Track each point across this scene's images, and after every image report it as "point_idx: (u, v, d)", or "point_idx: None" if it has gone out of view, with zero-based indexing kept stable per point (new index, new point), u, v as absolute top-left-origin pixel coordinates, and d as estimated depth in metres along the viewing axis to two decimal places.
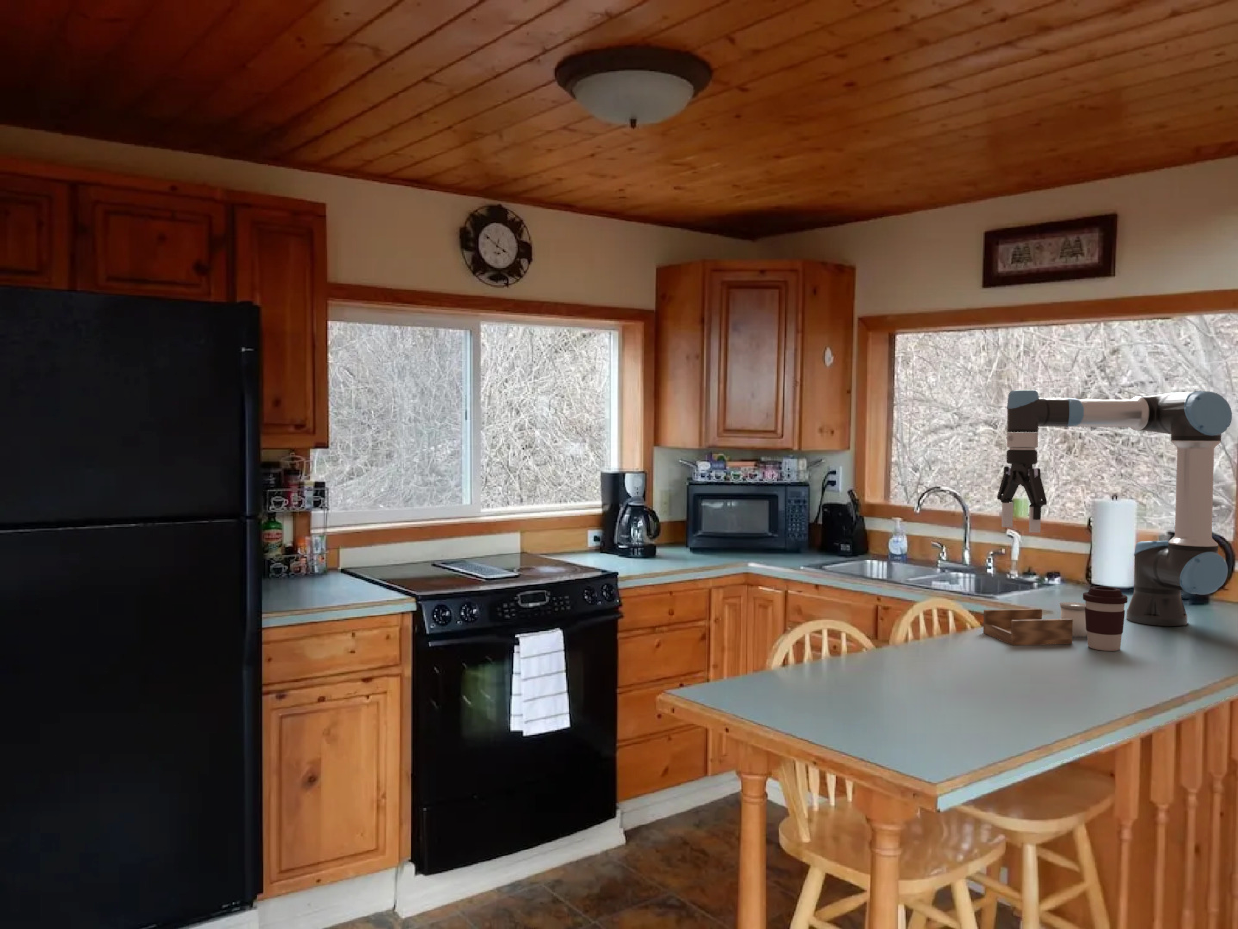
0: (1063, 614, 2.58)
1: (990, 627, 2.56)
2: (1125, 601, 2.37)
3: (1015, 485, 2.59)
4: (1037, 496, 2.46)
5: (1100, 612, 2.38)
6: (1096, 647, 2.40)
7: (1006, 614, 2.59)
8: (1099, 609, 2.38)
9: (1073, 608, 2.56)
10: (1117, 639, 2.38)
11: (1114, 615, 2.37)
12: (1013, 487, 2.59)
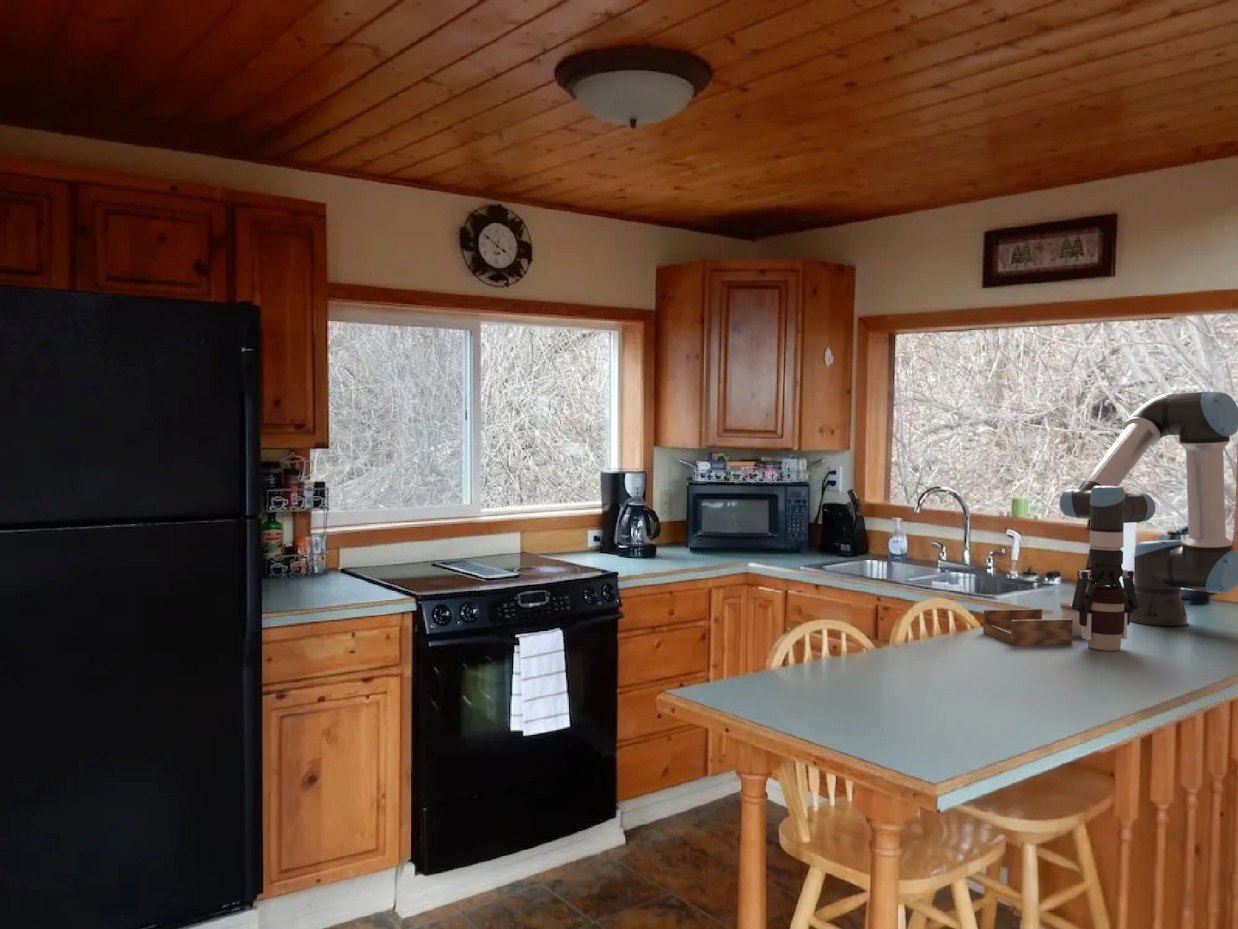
0: (1063, 614, 2.58)
1: (990, 627, 2.56)
2: (1125, 601, 2.37)
3: None
4: (1073, 600, 2.41)
5: (1100, 612, 2.38)
6: (1096, 647, 2.40)
7: (1006, 614, 2.59)
8: (1099, 609, 2.38)
9: None
10: (1117, 639, 2.38)
11: (1114, 615, 2.37)
12: None
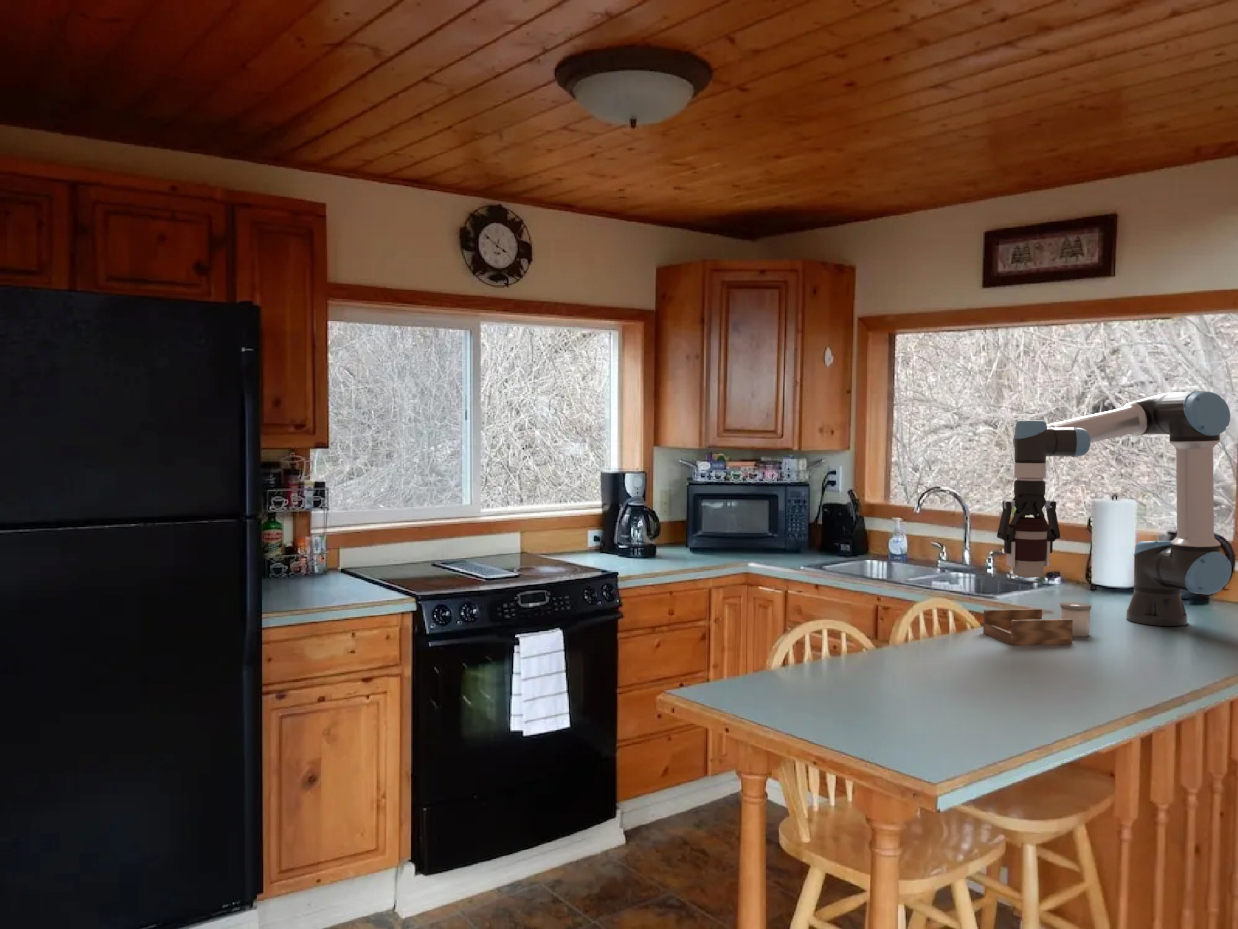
0: (1063, 614, 2.58)
1: (990, 627, 2.56)
2: (1047, 529, 2.48)
3: None
4: (998, 530, 2.52)
5: (1023, 540, 2.49)
6: (1020, 574, 2.50)
7: (1006, 614, 2.59)
8: (1023, 537, 2.49)
9: (1073, 608, 2.56)
10: (1039, 566, 2.49)
11: (1036, 542, 2.48)
12: None
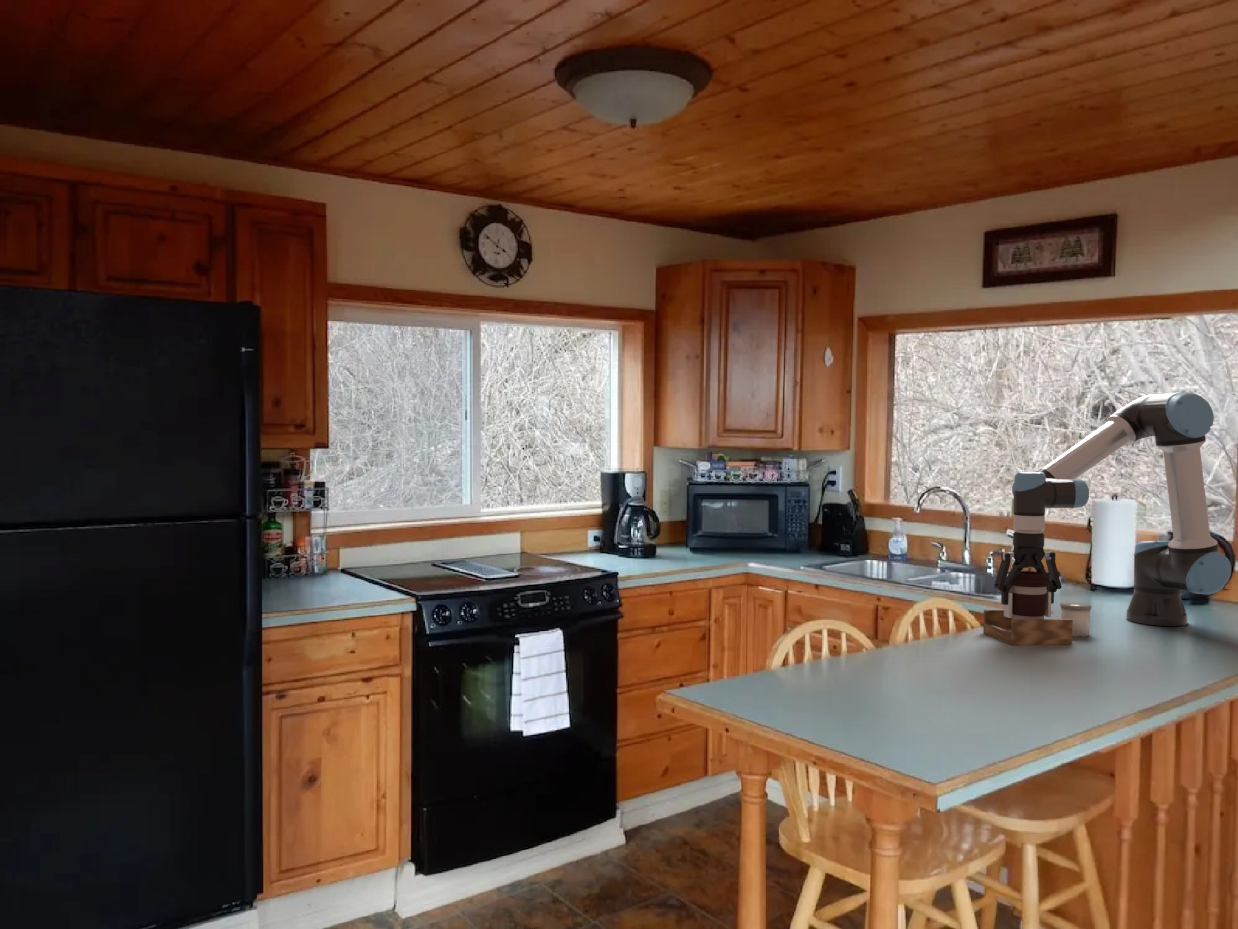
0: (1063, 614, 2.58)
1: (990, 627, 2.56)
2: (1046, 584, 2.49)
3: (1038, 570, 2.52)
4: (996, 580, 2.52)
5: (1023, 595, 2.49)
6: None
7: None
8: (1022, 592, 2.49)
9: (1073, 608, 2.56)
10: None
11: (1036, 598, 2.48)
12: None
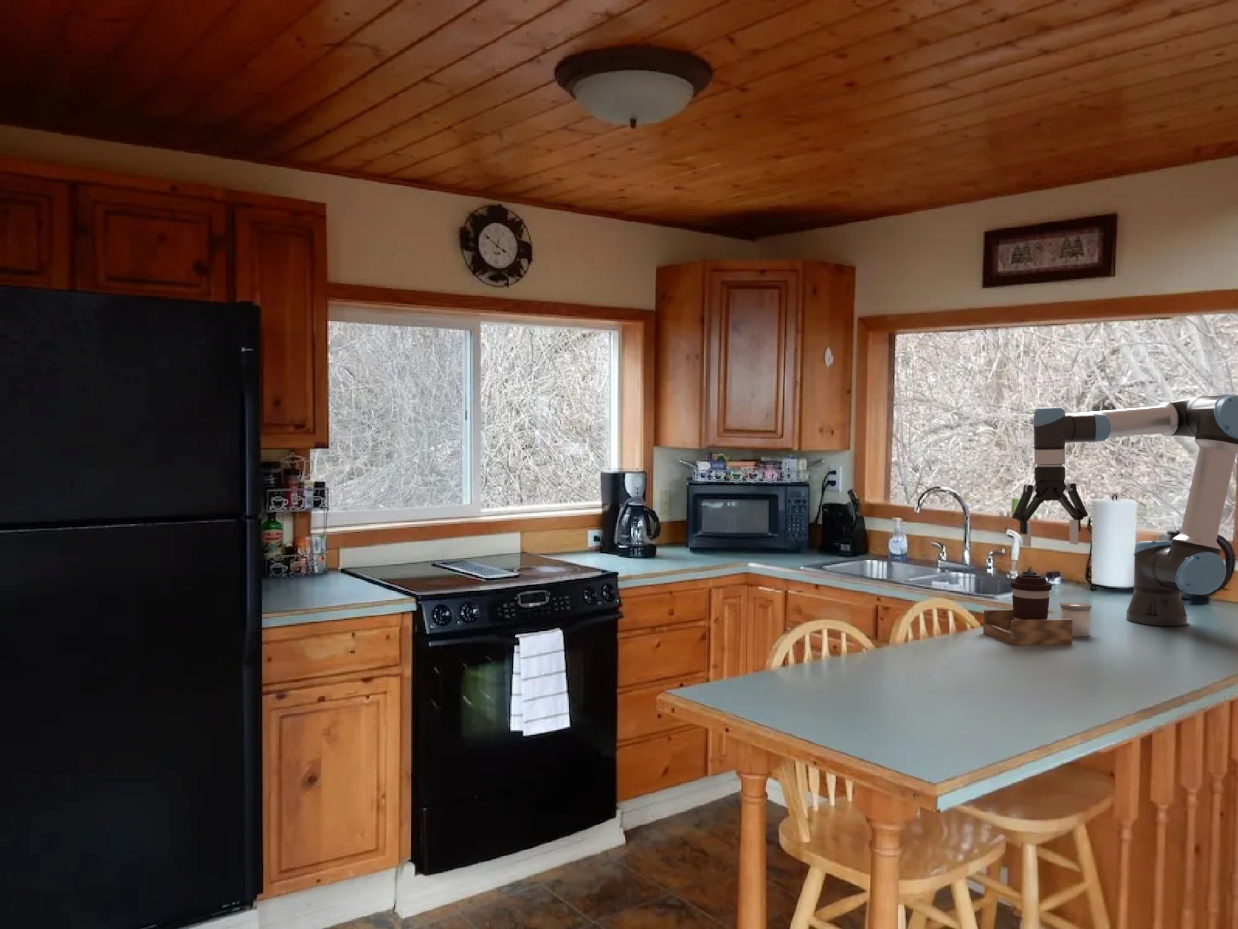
0: (1063, 614, 2.58)
1: (990, 627, 2.56)
2: (1049, 588, 2.48)
3: (1062, 501, 2.58)
4: (1015, 511, 2.58)
5: (1025, 599, 2.49)
6: None
7: (1006, 614, 2.59)
8: (1025, 596, 2.49)
9: (1073, 608, 2.56)
10: None
11: (1038, 602, 2.48)
12: (1063, 503, 2.59)
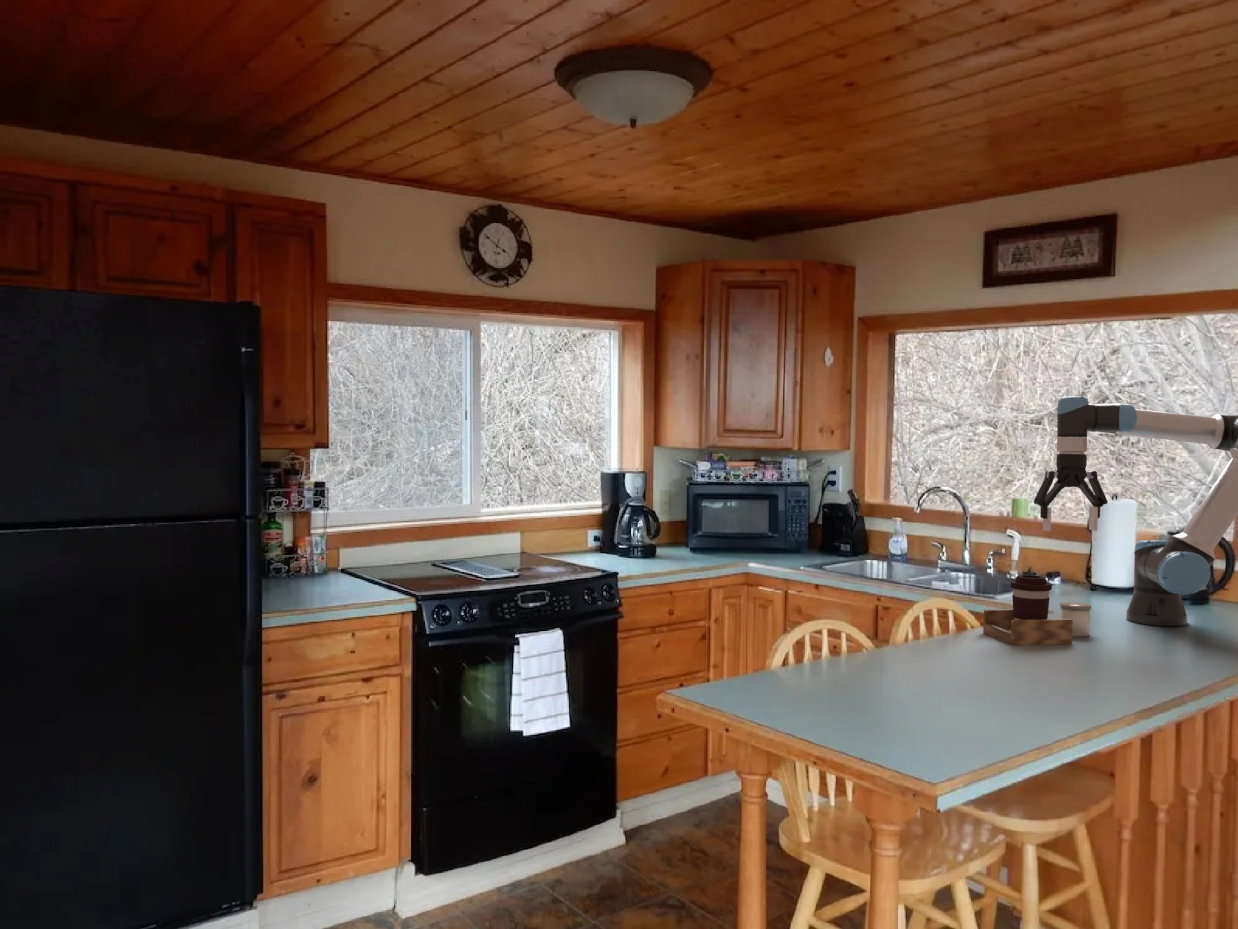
0: (1063, 614, 2.58)
1: (990, 627, 2.56)
2: (1049, 588, 2.48)
3: (1082, 488, 2.66)
4: (1036, 496, 2.66)
5: (1025, 599, 2.49)
6: None
7: (1006, 614, 2.59)
8: (1025, 596, 2.49)
9: (1073, 608, 2.56)
10: None
11: (1038, 602, 2.48)
12: (1083, 490, 2.66)
